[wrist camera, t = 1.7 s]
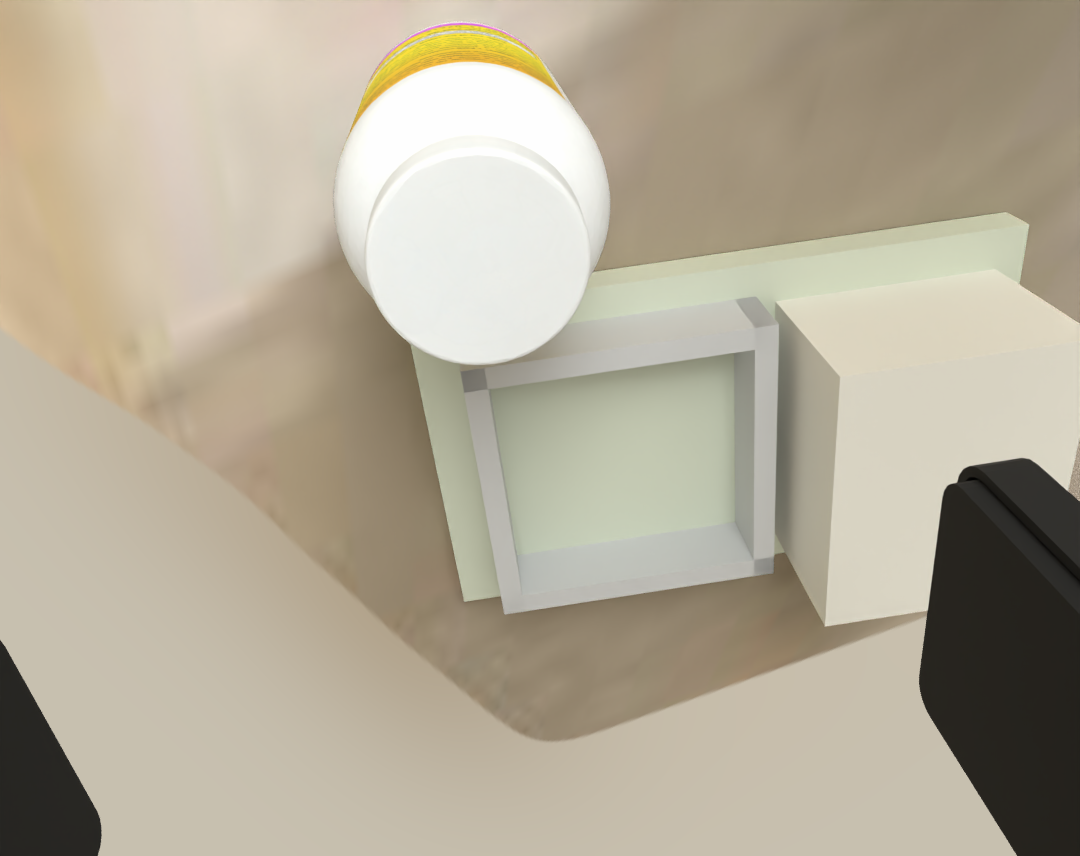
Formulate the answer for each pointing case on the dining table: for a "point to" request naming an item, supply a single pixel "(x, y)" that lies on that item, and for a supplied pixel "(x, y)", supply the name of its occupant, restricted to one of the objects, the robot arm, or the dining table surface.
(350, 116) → the dining table surface
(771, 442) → the square frame tray
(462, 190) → the supplement bottle
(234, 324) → the dining table surface
